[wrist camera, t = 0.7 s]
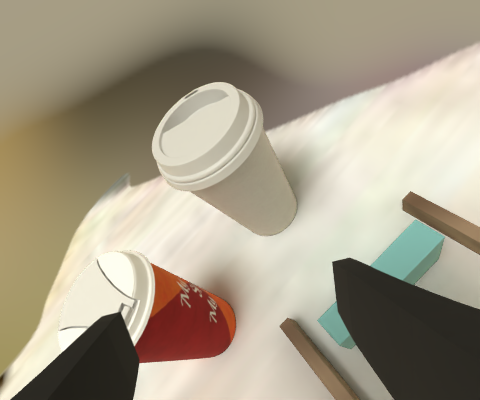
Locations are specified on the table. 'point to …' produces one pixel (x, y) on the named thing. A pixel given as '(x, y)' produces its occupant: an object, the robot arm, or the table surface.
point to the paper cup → (148, 309)
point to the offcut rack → (427, 213)
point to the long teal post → (394, 270)
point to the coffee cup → (225, 157)
